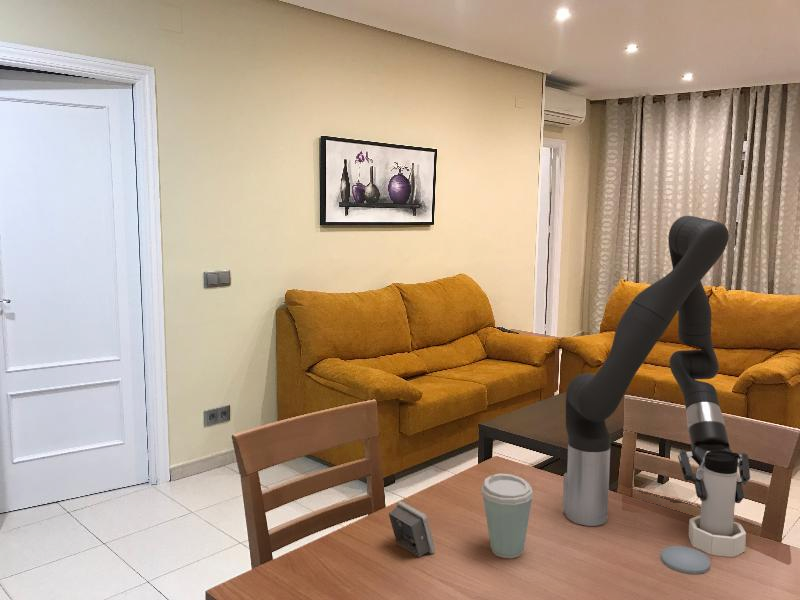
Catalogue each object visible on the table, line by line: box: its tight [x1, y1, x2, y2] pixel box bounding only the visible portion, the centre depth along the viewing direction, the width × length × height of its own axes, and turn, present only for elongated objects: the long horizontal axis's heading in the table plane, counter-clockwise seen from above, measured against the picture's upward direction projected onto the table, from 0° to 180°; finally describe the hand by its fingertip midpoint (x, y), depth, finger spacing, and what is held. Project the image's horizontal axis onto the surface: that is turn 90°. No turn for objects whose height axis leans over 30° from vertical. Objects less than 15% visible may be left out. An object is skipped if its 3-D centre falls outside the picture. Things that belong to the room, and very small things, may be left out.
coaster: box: [660, 545, 711, 575], centre depth 128 cm, size 9×9×1 cm
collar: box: [688, 514, 747, 558], centre depth 135 cm, size 10×10×4 cm
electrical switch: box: [388, 500, 436, 558], centre depth 133 cm, size 9×5×9 cm, turn 38°
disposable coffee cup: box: [480, 473, 534, 559], centre depth 132 cm, size 11×11×15 cm
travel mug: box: [699, 451, 741, 537], centre depth 134 cm, size 6×7×20 cm
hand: (721, 500), depth 133 cm, fingers closed on travel mug, 6 cm apart
